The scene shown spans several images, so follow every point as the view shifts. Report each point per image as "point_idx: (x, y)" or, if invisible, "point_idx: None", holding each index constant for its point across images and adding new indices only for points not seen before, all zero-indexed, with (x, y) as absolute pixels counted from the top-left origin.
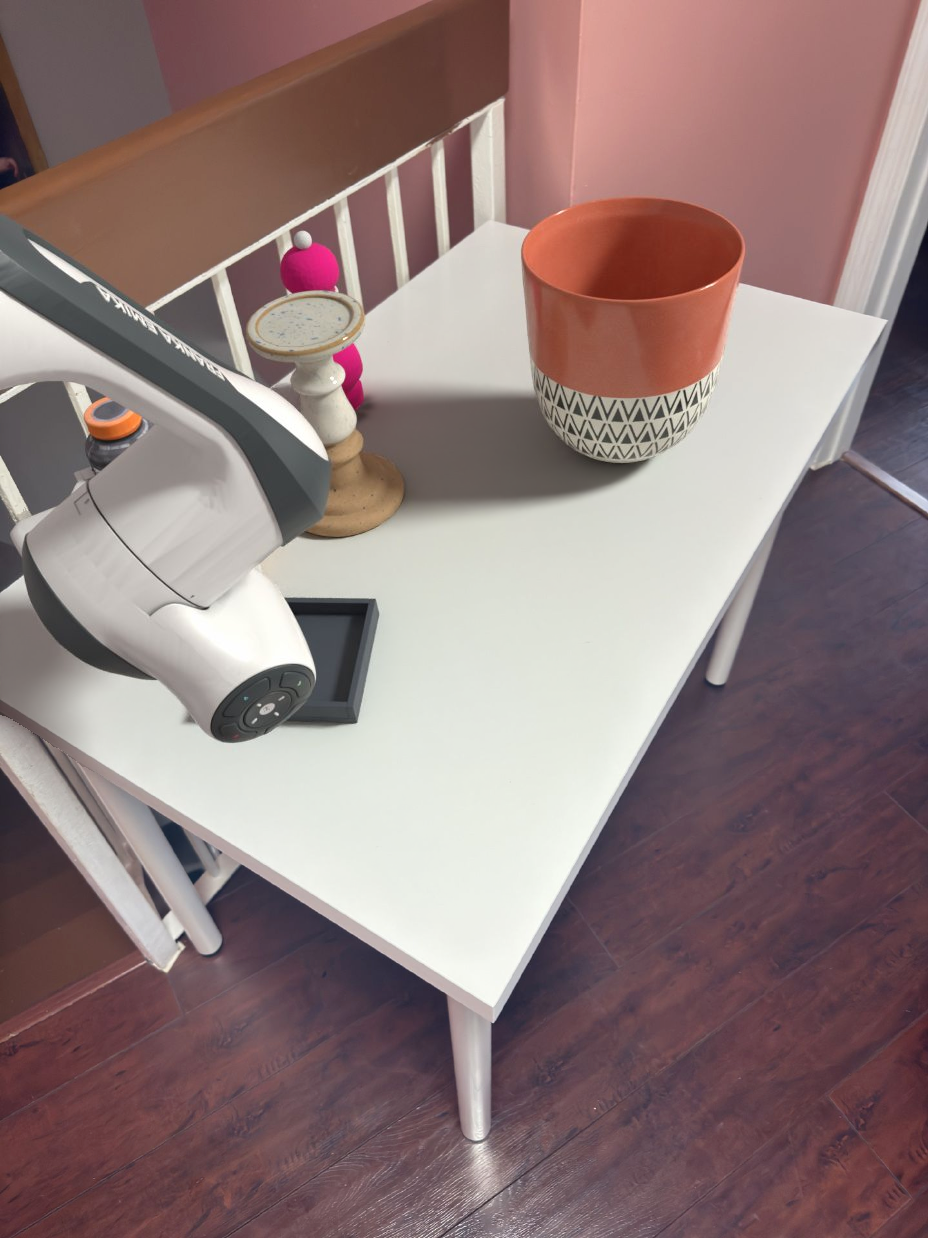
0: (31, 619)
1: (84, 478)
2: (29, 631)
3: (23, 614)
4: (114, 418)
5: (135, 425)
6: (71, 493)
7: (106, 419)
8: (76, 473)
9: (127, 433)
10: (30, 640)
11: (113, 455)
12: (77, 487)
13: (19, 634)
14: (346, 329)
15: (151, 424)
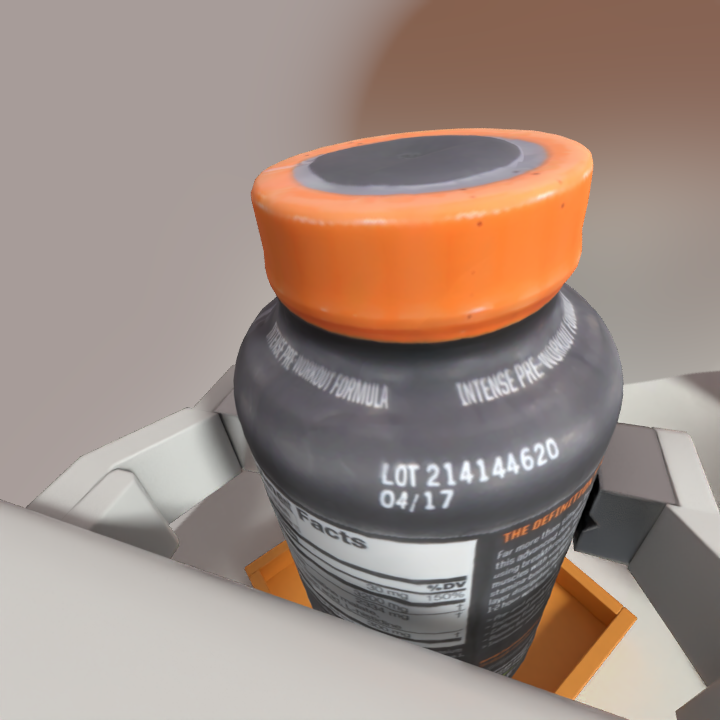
0: (246, 485)
1: (221, 405)
2: (228, 502)
3: (248, 471)
4: (379, 192)
5: (494, 305)
6: (116, 440)
7: (337, 185)
8: (233, 371)
9: (407, 332)
10: (216, 517)
11: (277, 408)
12: (160, 428)
13: (219, 497)
14: None
15: (593, 345)
